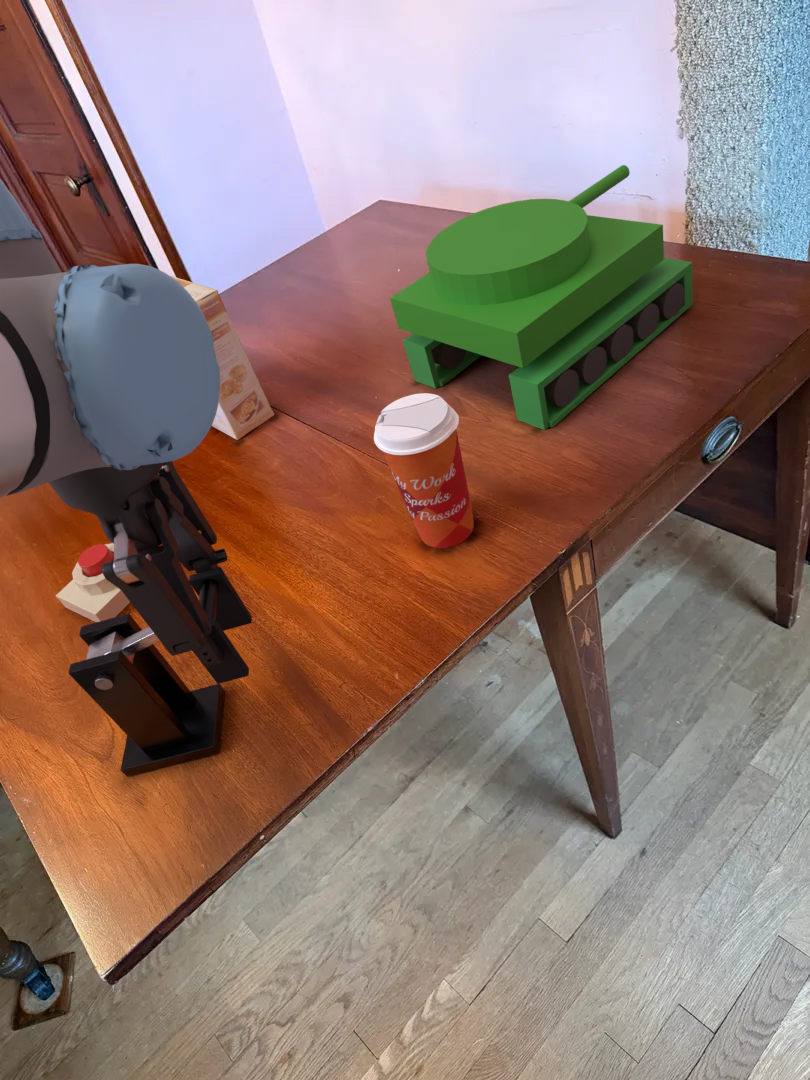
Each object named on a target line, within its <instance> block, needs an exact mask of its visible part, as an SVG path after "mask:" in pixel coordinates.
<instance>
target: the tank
mask: <svg viewBox="0 0 810 1080" xmlns="http://www.w3.org/2000/svg"><path fill="white" fill-rule="evenodd" d="M630 174H631V173H630V168H629V167H628V166H627V165H626V164H622V165H620V166H619V167H617V168H616V169H614V170H613V171H611V172H609V173H608V174H607V175H605V176H604V177H602V178H601V179H599V180H598V181H596V182H595V183H594V184H592V185H591V186H589V187H587V188H586V189H585V190H583V191H581V192H579V194H577V195H576V196H574V197H572V198H571V199H570V200H564V199H557V198H533V199H532V198H529V199H523V200H515V201H511V202H505V203H502V204H498V205H494V206H490V207H487V208H485V209H482V210H478V211H476V212H473V213H471V214H469V215H467V216H465V217H463V218H460V219H458V220H456V221H455V222H453V223H452V224H451V223H450V225H448V226H447V227H446V228H444V229H442V230H441V231H440V232H438V234H436V236H434V238H432V239H431V241H430V243H429V244H428V246H427V248H426V251H425V257H426V263H427V267H428V272H427V273H426V274H424V275H423V276H421V277H420V278H418V279H416V280H415V281H413V282H412V283H410V284H409V285H407V286H406V287H404V288H403V289H401V290H399V291H398V292H397V293H395V294H394V295H392V296H391V297H390V298H389V300H390V304H391V307H392V311H393V314H394V316H395V320H396V324H397V328H398V330H401V331H404V332H407V333H411V334H409V335H408V336H407V337H405V338H404V339H402V343H403V346H404V350H405V354H406V357H407V360H408V363H409V368H410V370H411V373H412V377H413V380H414V381H415V382H417V383H419V384H423V385H425V386H428V387H430V388H432V389H438V388H439V387H444V386H445V385H446V384H447V383H449V382H450V381H451V380H452V379H453V378H455V377H456V376H457V375H459V374H460V373H461V372H462V371H464V370H465V369H466V368H468V367H469V366H470V365H471V364H472V363H474V362H475V361H476V360H478V359H479V358H480V357H481V356H484V357H486V358H490V359H493V360H496V361H499V362H502V363H505V364H509V365H512V366H515V367H518V368H516V369H515V370H513V371H512V372H511V373H509V374H508V379H509V385H510V390H511V394H512V395H511V396H512V401H513V405H514V411H515V415H516V420H517V421H519V422H521V423H524V424H527V425H530V426H533V427H536V428H538V429H541V430H542V431H546V430H547V429H548V428H555V426H556V425H557V424H559V422H561V421H562V420H563V419H564V418H565V417H567V416H568V415H569V414H570V413H571V412H572V411H573V410H574V409H575V408H577V407H578V406H579V405H580V404H581V403H582V402H584V401H585V400H586V399H587V398H588V397H589V396H590V395H592V393H593V392H595V391H596V390H597V389H598V388H600V387H601V385H603V384H604V383H605V382H607V380H608V379H610V377H612V376H613V375H614V374H615V373H616V372H618V371H619V370H620V369H621V368H622V367H623V366H625V364H627V363H628V362H629V361H630V360H631V359H632V358H633V357H635V356H636V355H637V354H638V353H639V352H641V350H642V349H644V348H645V347H646V346H647V345H648V344H649V343H650V342H651V341H653V340H654V339H655V338H656V337H657V336H659V335H660V334H661V333H662V332H663V331H664V330H665V329H667V327H669V326H670V325H671V324H672V323H673V322H674V321H676V320H677V319H678V318H679V317H680V316H681V315H682V314H683V313H684V312H686V311H687V310H688V309H690V307H692V306H693V304H694V303H693V302H694V301H693V261H686V260H682V259H676V258H669V257H665V250H664V246H665V245H664V244H665V243H664V224H661V223H660V224H659V223H652V222H644V221H637V220H629V219H621V218H612V217H605V216H598V215H597V216H596V215H589V214H587V212H586V210H585V209H584V208H585V207H586V206H588V205H589V204H591V203H592V202H594V201H596V199H598V198H599V197H601V196H602V195H604V194H606V193H607V192H608V191H609V190H610V189H611V190H612V189H613V188H614V187H615V186H617V185H619V184H620V183H621V182H623V181H624V180H625V179H627V178H628V177H629V176H630Z"/></svg>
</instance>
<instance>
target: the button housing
mask: <svg viewBox="0 0 810 1080" xmlns="http://www.w3.org/2000/svg"><path fill="white" fill-rule="evenodd" d="M104 545H106V546H107V547H108V548H109V550H110V551H111V552H112V554H113V555H114V543H112V542H111V543H104ZM71 575H72V580H70V582H68V583H67V584H66V585H65V586H63V588H62V589H61V590H60V591H59V592H58V593H56V595H55V597H56V598H57V600H59V601H60V603H61V604H62V605H63V607H65V608H66V609H67V610H70V611H72V612H73V613H76V614H77V615H80V616H82V617H84V618H86V619H87V620H91V621H93V623H96V622H100V621H103V620H107V619H111V618H114V617H118V615H119V614H120V613H122V611H123V610H125V608H127V606H129V604H131V602H130V601H129V600H128V598H127V597H126V596H125V594H124V593H123V592H122V591H121V590H120V589H119V588H117V587H116V586H115V585H113V584H112V583H110V582H109V581H108V580H107V579H106V578H105V577H104V575H103V573H102V574H100V575H98V576H94V577H90V576H88V575H87V574H86V573H85V572H84V571H83V569H82V568H81V567H80V566H79V564H78V561H77V562H76V564H75V566H74V568H73V570H72V572H71Z"/></svg>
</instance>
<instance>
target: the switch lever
mask: <svg viewBox="0 0 810 1080" xmlns="http://www.w3.org/2000/svg"><path fill="white" fill-rule="evenodd" d="M218 589H219V584H218V582H217V581H216V580H214V579H205V580H203V581H202V583H201V587H200V595H199V596H198V600H199V602H200V604H201V606H202V608H203V610H204V612H205V614H206V616H207V618H208V620H212V619H215V618H216V608H217V599H218ZM158 642H160V640H159V639H158V638H157V636H156V635H155V634H154V632H153V631H152V630H151V628H150V627H149V626H147V627H145V628H143V629H142V630H141V631H139V632H137V633H135V634H133V635H131V636H129V637H127V638H124V637H122V636H121V635H120V634H118V633H117V632H113V633H111V634H110V635H108V636H106V637H104V638H102V639H100V640H98V641H96V642H94V643H92V644H90V646H88V651H87V654H86V657H85V660H87V659H90V658H94V657H98V656H101V655H105V654H109V653H112V652H116V651H120V650H121V651H122V652H123V653H124V655H125V656H126V657H127V658H128V659H129V661H130V662H131V663H133V658H134V653H136V652H138V651H140V650H142V649H144V648H146V647H148V646H150V645H152V644H154V645H155V644H156V643H158Z"/></svg>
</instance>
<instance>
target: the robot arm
mask: <svg viewBox="0 0 810 1080" xmlns="http://www.w3.org/2000/svg"><path fill="white" fill-rule="evenodd" d="M171 276H172V275H169V274H167V273H166V272H164V271H162V270H161V269H159V268H156V267H154V266H151V265H148V264H147V265H145V264H141V263H126V264H116V265H106V266H98V265H94V264H81V265H80V264H79V265H75V266H72V267H70V268H69V269H68V270H67V271H63V272H61V269H60V268H59V267H58V265H57V262H56V261H55V259H54V258H53V256H52V254H51V253H50V251H49V249H48V248H47V246H46V243H44V238H43V236H42V234H41V232H40V231H39V230H38V229H36V227H35V226H34V224H33V223H32V221H31V220H30V218H29V216H28V215H27V214H26V213H25V211H24V210H23V209H22V207H21V205H20V204H19V203H18V201H17V199H16V198H15V197H14V195H13V194H12V193H11V192H10V190H9V189H8V187H7V186H6V185H5V183H4V181H3V180H2V179H1V178H0V499H3V498H5V497H7V496H10V495H15V494H16V495H17V494H20V493H22V492H25V491H28V490H31V489H34V488H36V487H39V486H42V485H44V484H47V483H48V484H49V486H50V487H51V488H52V490H53V491H54V492H55V494H56V495H57V496H58V497H59V499H61V501H62V502H63V503H64V504H65V505H66V506H68V508H69V507H70V508H71V509H74V510H79V511H82V512H85V513H90V514H91V515H94V516H96V518H97V520H98V522H99V523H100V525H101V528H102V530H103V533H104V535H105V537H106V539H107V540H108V541H109V542H111V543H114V560H113V561H110V562H106V563H103V565H102V572H103V575H104V577H105V578H106V579H107V580H108V581H109V582H110V583H112V584H113V585H115V586H116V587H117V588H119V589H120V590H121V591H122V592H123V593H124V594H125V596H126V597H127V598H128V600H129V601H130V605H132V607H133V608H134V609H135V610H136V612H137V613H138V614H139V616H140V617H141V618H142V620H143V621H144V622H145V623H146V625H147V627H150V628H151V630H152V631H153V632H154V634H155V635H156V636H157V638H158V639H159V640H160V641H159V642H160V643H161V644H162V646H163V647H164V648H165V650H166V651H167V652H168V653H169V655H170V656H171V657H174V656H178V655H182V654H185V653H189V652H193V654H194V655H195V656H196V658H197V659H198V661H199V662H200V663H201V664H202V666H203V667H204V669H206V671H207V672H208V673H209V675H210V676H211V678H213V680H214V682H215V683H216V684H220V685H221V684H223V683H228V682H230V681H231V682H232V681H234V680H239V679H243V678H246V677H249V676H250V668H249V666H248V664H247V663H246V662H245V660H244V659H243V657H242V655H241V654H240V653H239V651H238V650H237V648H236V646H234V644H233V643H232V641H231V640H230V638H229V637H228V635H227V634H226V633H225V632H226V631H227V630H232V629H235V628H239V627H242V626H246V625H250V624H252V623H253V621H252V620H253V616H252V615H251V613H250V611H249V610H248V608H247V607H246V605H245V603H244V602H243V600H242V599H241V597H240V595H239V594H238V592H237V590H236V589H235V587H234V586H233V583H232V582H231V581H230V579H229V578H228V576H227V575H226V573H225V572H224V570H223V568H222V566H219V565H220V564H223V563H225V562H227V561H228V554H227V551H226V549H225V548H220V549H217V550H216V549H215V548H214V547H213V545H216V544H217V543H218V542H217V541H218V537H217V534H216V532H215V530H214V529H213V528H212V526H211V525H210V523H209V521H208V520H207V518H206V517H205V515H204V513H203V512H202V510H201V508H200V506H199V505H198V503H197V502H196V500H195V499H194V497H193V495H192V493H191V492H190V490H189V489H188V487H187V485H186V484H185V483H184V480H183V479H182V477H181V476H180V474H179V473H178V471H177V470H176V467H175V465H174V463H173V462H174V461H177V460H179V459H181V458H182V459H183V458H184V457H187V456H188V455H189V454H191V453H193V452H194V450H196V449H197V448H198V446H200V445H201V443H202V442H203V441H204V440H205V438H206V436H207V435H208V433H209V432H210V430H211V428H212V427H213V426H212V424H213V421H214V418H215V415H216V412H217V407H218V402H219V395H220V370H219V365H218V363H217V360H216V355H215V350H214V341H213V336H212V333H211V330H210V328H209V325H208V323H207V321H206V319H205V317H204V315H203V313H202V311H201V309H200V308H199V306H198V304H197V303H196V301H195V300H194V299H193V297H192V296H191V295H190V294H189V293H188V292H187V290H186V289H185V288H184V287H183V286H182V285H181V284H180V283H179V282H177V281H176V280H175V279H174V278H172V277H171ZM218 564H219V565H218ZM183 567H184V568H185V569H186V570H187V571H188V572H193V571H195V573H193V574H189V576H188V575H187V574H186V572H185V570H184V568H183ZM205 579H214V580H216V581H217V582H218V584H219V589H218V599H217V608H216V618H215V619H212V620H208V618H207V616H206V614H205V612H204V610H203V608H202V606H201V604H200V602H199V595H200V587H201V583H202V581H203V580H205Z"/></svg>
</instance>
